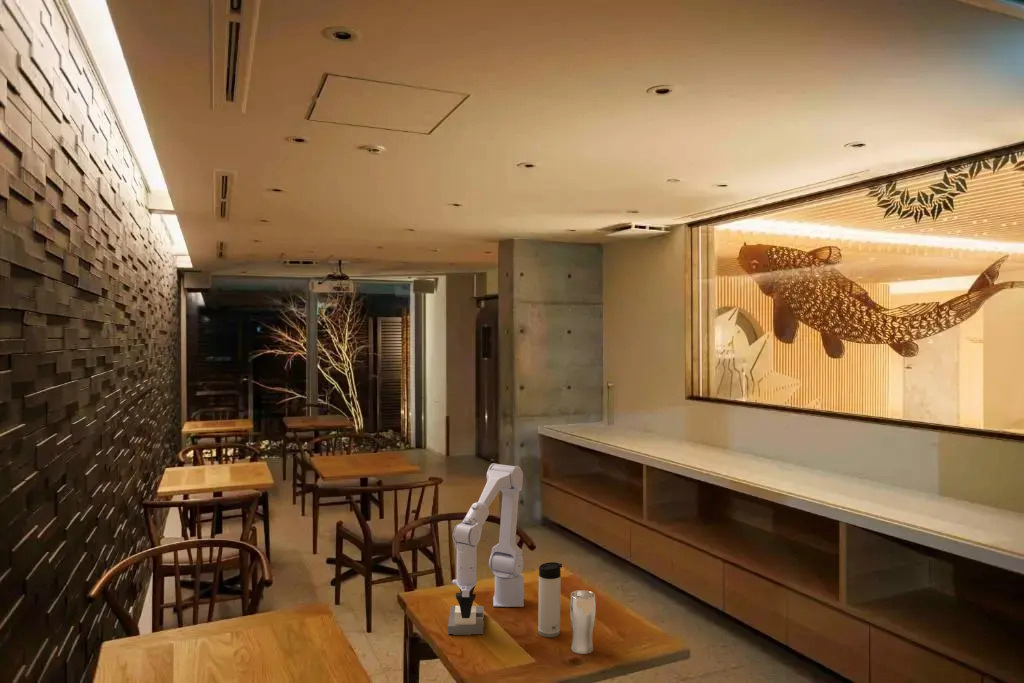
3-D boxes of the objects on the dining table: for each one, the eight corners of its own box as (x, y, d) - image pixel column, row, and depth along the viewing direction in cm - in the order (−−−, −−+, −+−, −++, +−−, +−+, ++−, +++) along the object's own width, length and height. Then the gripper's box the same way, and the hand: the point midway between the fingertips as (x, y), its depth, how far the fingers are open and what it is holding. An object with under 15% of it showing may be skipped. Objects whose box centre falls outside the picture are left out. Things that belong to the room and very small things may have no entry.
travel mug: (559, 638, 197) (560, 568, 197) (536, 636, 199) (537, 566, 198) (562, 629, 204) (563, 561, 203) (540, 627, 205) (540, 559, 204)
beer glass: (578, 640, 196) (579, 587, 196) (599, 648, 192) (600, 594, 191) (564, 649, 191) (565, 595, 190) (585, 657, 187) (586, 601, 186)
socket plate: (483, 614, 213) (483, 606, 213) (483, 634, 200) (483, 626, 199) (450, 614, 213) (450, 606, 213) (447, 635, 199) (447, 626, 199)
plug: (482, 624, 205) (482, 605, 205) (482, 631, 201) (482, 612, 200) (455, 624, 205) (455, 605, 205) (454, 631, 200) (454, 612, 200)
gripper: (453, 557, 209) (453, 602, 210) (451, 574, 195) (451, 623, 195) (477, 556, 210) (477, 601, 210) (476, 574, 195) (476, 622, 196)
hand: (466, 612), depth 203 cm, fingers open, 7 cm apart
